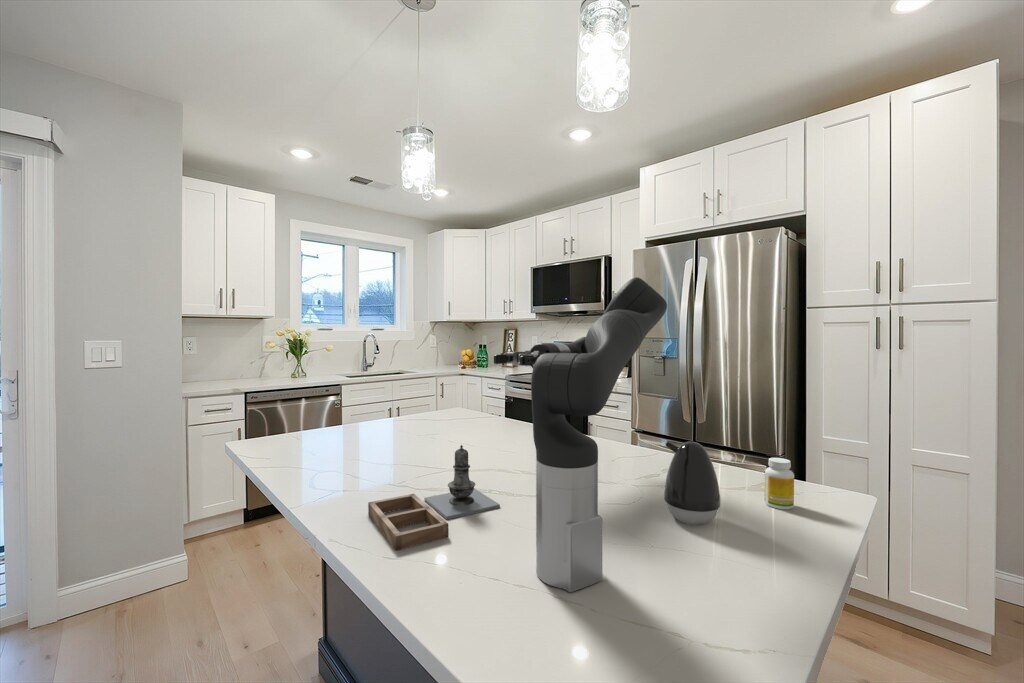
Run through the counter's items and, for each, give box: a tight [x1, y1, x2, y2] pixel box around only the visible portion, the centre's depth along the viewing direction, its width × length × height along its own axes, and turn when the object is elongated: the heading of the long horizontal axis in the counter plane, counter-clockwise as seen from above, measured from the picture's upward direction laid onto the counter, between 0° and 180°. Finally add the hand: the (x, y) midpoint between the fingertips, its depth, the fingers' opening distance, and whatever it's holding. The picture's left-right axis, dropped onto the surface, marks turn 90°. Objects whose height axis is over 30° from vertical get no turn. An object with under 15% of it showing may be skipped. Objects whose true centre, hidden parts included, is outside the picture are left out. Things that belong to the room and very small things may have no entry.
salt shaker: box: [447, 444, 476, 506], centre depth 97 cm, size 6×6×12 cm
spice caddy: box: [367, 493, 449, 551], centre depth 86 cm, size 18×10×2 cm, turn 32°
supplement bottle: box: [763, 457, 795, 511], centre depth 96 cm, size 5×5×10 cm
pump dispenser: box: [663, 441, 721, 526], centre depth 89 cm, size 10×10×15 cm
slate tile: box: [423, 487, 501, 521], centre depth 97 cm, size 12×12×1 cm
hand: (507, 360), depth 107 cm, fingers open, 8 cm apart
